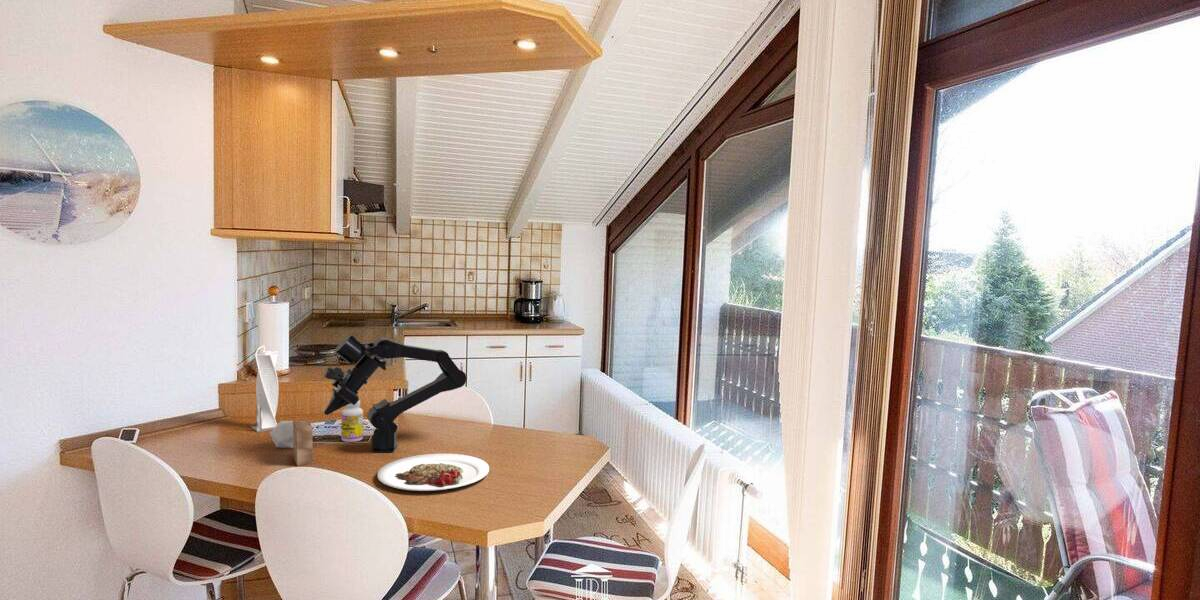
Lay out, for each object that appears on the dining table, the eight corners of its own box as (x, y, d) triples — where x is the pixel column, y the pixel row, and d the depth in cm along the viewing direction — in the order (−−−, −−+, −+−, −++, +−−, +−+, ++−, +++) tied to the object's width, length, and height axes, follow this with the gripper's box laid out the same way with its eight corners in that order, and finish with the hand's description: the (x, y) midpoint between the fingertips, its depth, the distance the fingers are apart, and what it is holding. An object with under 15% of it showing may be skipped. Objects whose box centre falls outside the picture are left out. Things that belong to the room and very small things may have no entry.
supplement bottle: (337, 441, 209) (336, 402, 209) (349, 436, 216) (349, 398, 215) (355, 443, 208) (355, 404, 207) (367, 438, 214) (367, 399, 213)
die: (281, 454, 197) (301, 427, 200) (259, 438, 198) (280, 412, 201) (292, 455, 205) (312, 429, 208) (271, 441, 206) (291, 415, 209)
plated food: (422, 454, 199) (422, 443, 199) (508, 468, 189) (508, 456, 188) (352, 485, 172) (352, 473, 171) (448, 503, 161) (448, 490, 160)
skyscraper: (250, 426, 224) (249, 346, 222) (275, 423, 230) (274, 344, 228) (257, 432, 218) (256, 349, 216) (282, 428, 223) (282, 347, 222)
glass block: (308, 455, 195) (307, 419, 194) (312, 464, 187) (312, 426, 186) (293, 457, 193) (293, 421, 192) (297, 466, 185) (297, 428, 184)
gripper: (336, 352, 202) (300, 392, 198) (343, 359, 186) (304, 403, 181) (365, 374, 206) (330, 414, 202) (374, 383, 190) (336, 426, 185)
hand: (325, 414), depth 193 cm, fingers closed
